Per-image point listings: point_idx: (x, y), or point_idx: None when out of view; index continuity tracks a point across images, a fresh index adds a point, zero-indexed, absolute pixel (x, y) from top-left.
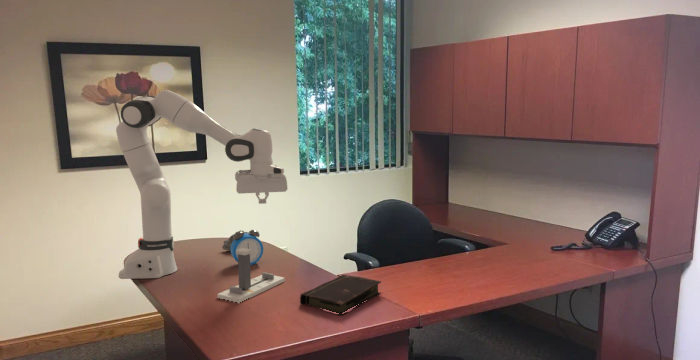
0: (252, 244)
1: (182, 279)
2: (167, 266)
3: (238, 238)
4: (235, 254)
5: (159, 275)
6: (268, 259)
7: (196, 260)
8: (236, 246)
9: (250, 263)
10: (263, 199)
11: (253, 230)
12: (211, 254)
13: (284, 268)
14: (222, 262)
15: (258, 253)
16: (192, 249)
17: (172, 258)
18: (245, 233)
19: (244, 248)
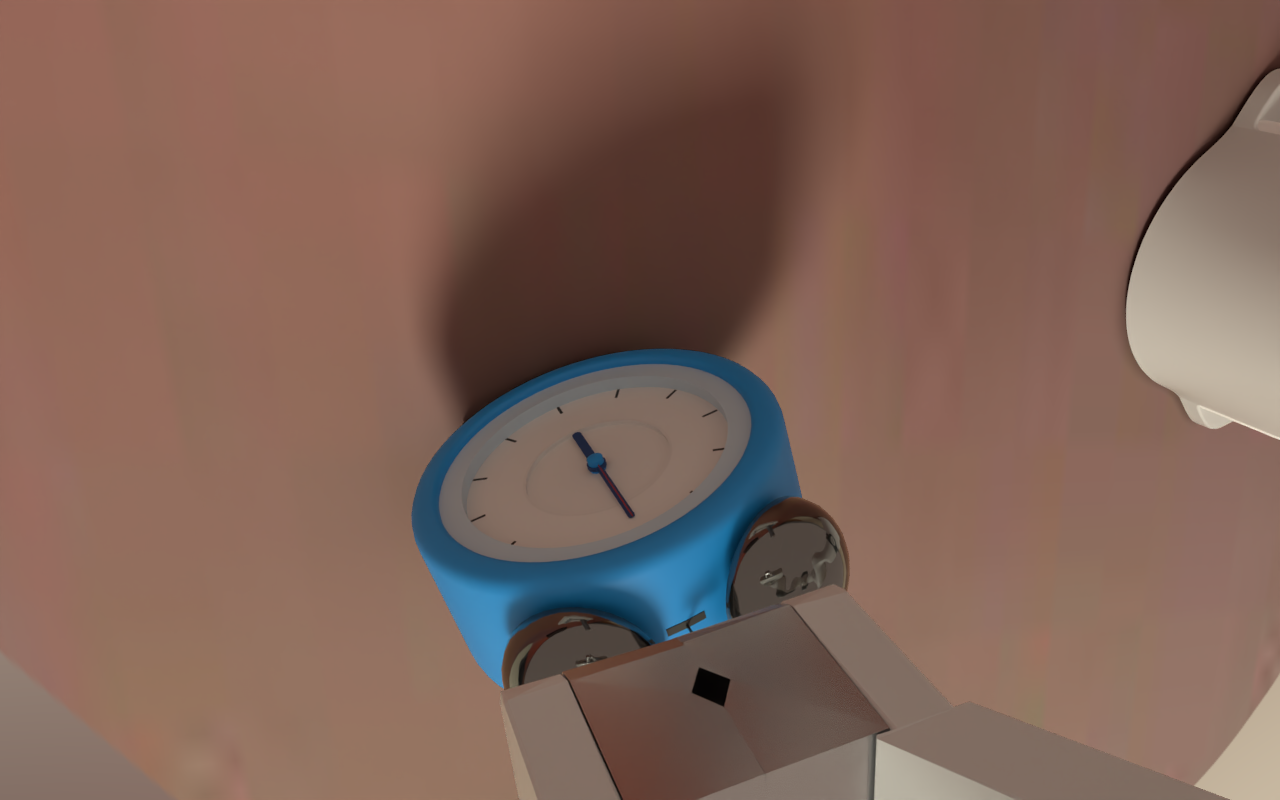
0: (568, 526)
1: (1114, 8)
2: (1257, 187)
3: (779, 502)
4: (730, 369)
5: (1276, 85)
6: (350, 590)
7: (980, 527)
8: (761, 417)
9: (532, 387)
10: (714, 786)
11: None
12: None
13: (87, 272)
14: None
15: (466, 488)
16: None
17: (1257, 276)
18: None
19: (651, 464)
